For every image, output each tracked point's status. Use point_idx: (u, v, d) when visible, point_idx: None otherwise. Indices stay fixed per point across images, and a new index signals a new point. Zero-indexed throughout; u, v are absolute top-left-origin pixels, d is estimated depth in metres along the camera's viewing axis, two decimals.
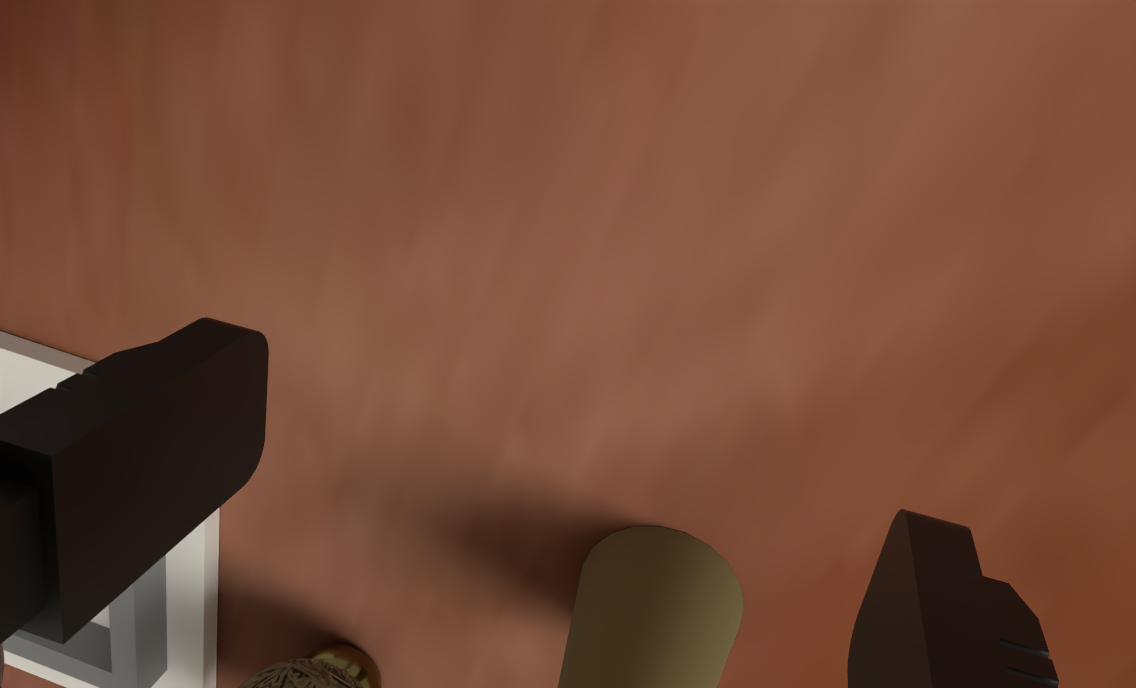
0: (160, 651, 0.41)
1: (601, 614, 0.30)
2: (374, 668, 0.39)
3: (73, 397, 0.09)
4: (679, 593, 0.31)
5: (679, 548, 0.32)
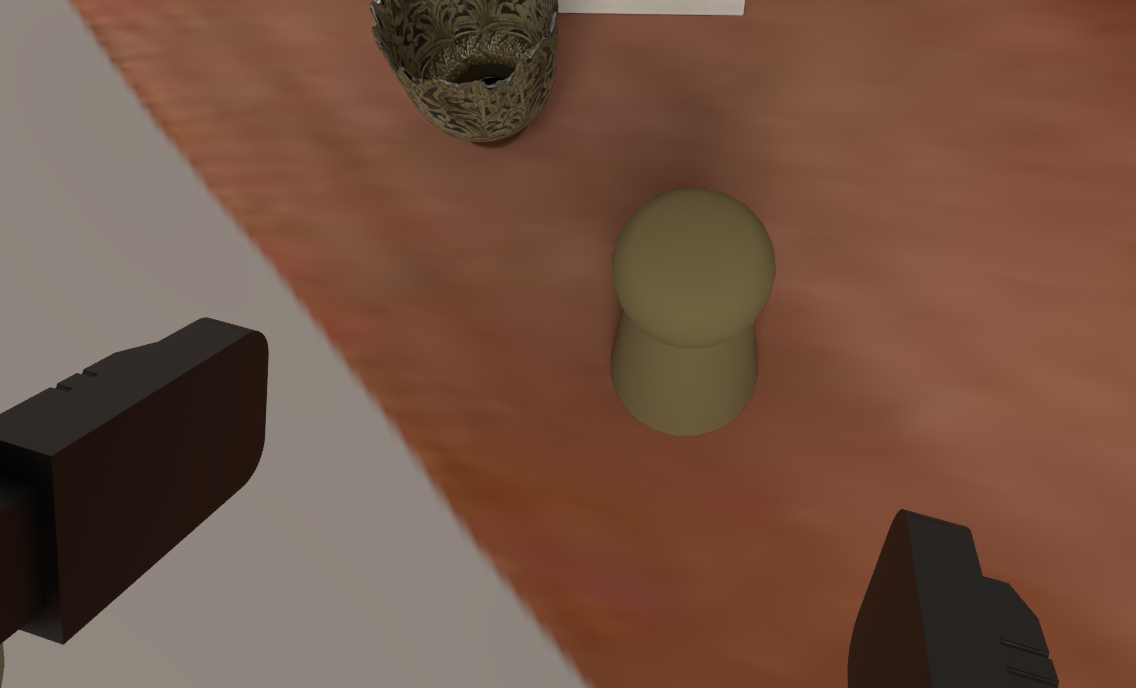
0: None
1: None
2: (514, 140, 0.43)
3: (71, 397, 0.09)
4: (753, 359, 0.36)
5: (756, 366, 0.38)
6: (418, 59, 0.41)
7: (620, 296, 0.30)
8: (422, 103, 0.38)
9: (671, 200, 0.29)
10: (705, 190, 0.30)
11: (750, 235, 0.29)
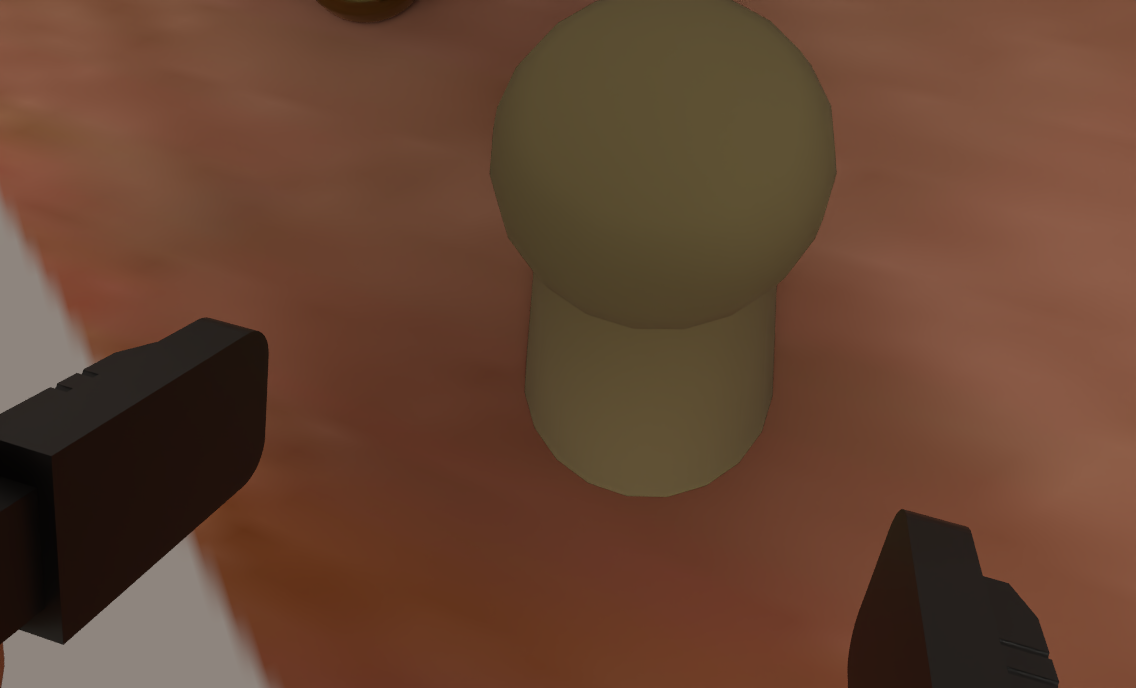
0: None
1: None
2: (398, 10, 0.27)
3: (71, 396, 0.09)
4: (768, 367, 0.20)
5: (771, 381, 0.22)
6: None
7: (501, 209, 0.14)
8: None
9: (618, 6, 0.14)
10: None
11: (789, 79, 0.13)
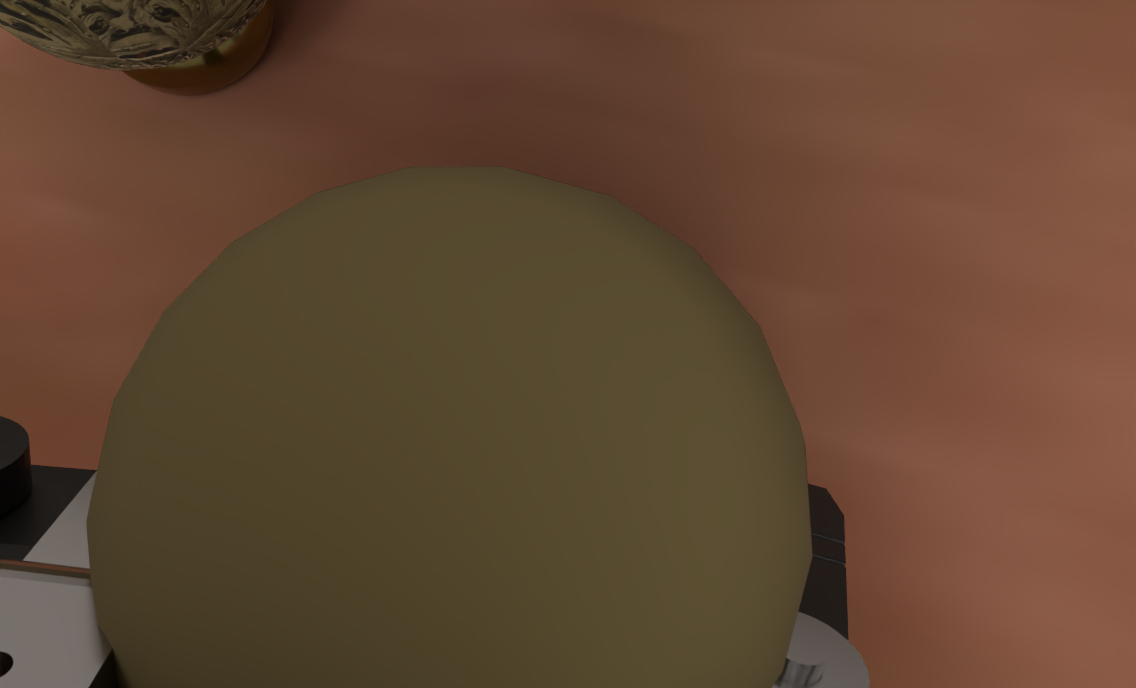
0: None
1: None
2: (229, 79, 0.20)
3: None
4: None
5: None
6: None
7: None
8: None
9: (349, 213, 0.06)
10: (513, 175, 0.07)
11: (703, 400, 0.06)
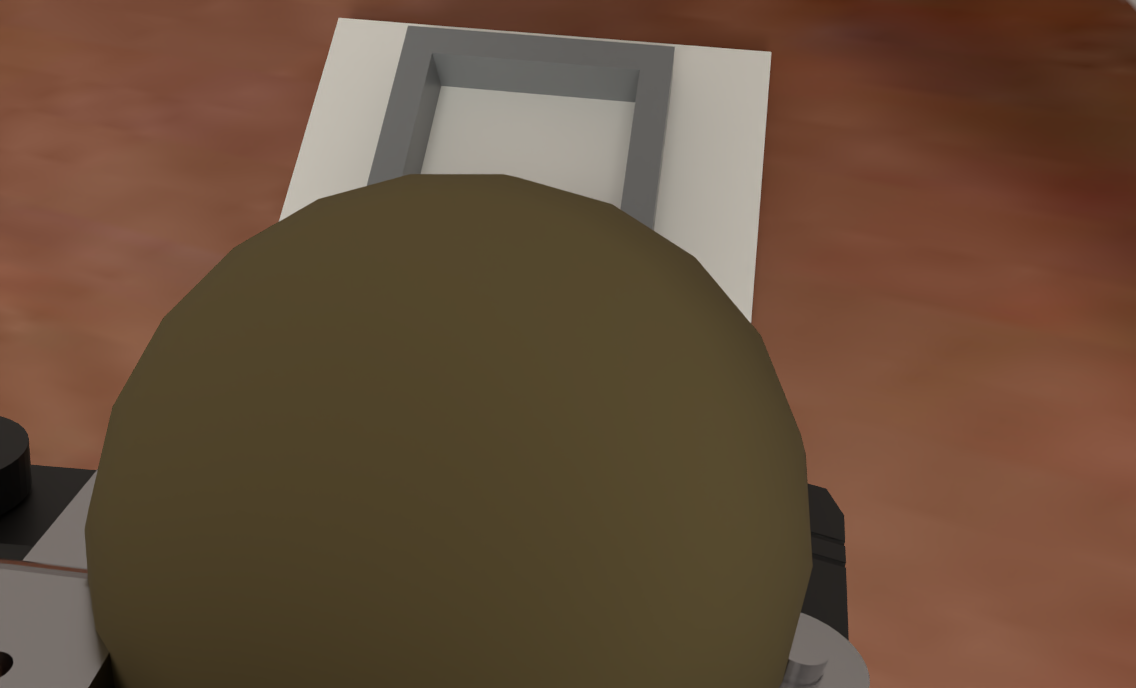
0: None
1: None
2: None
3: None
4: None
5: None
6: None
7: None
8: None
9: (350, 221, 0.06)
10: (515, 183, 0.07)
11: (703, 410, 0.06)
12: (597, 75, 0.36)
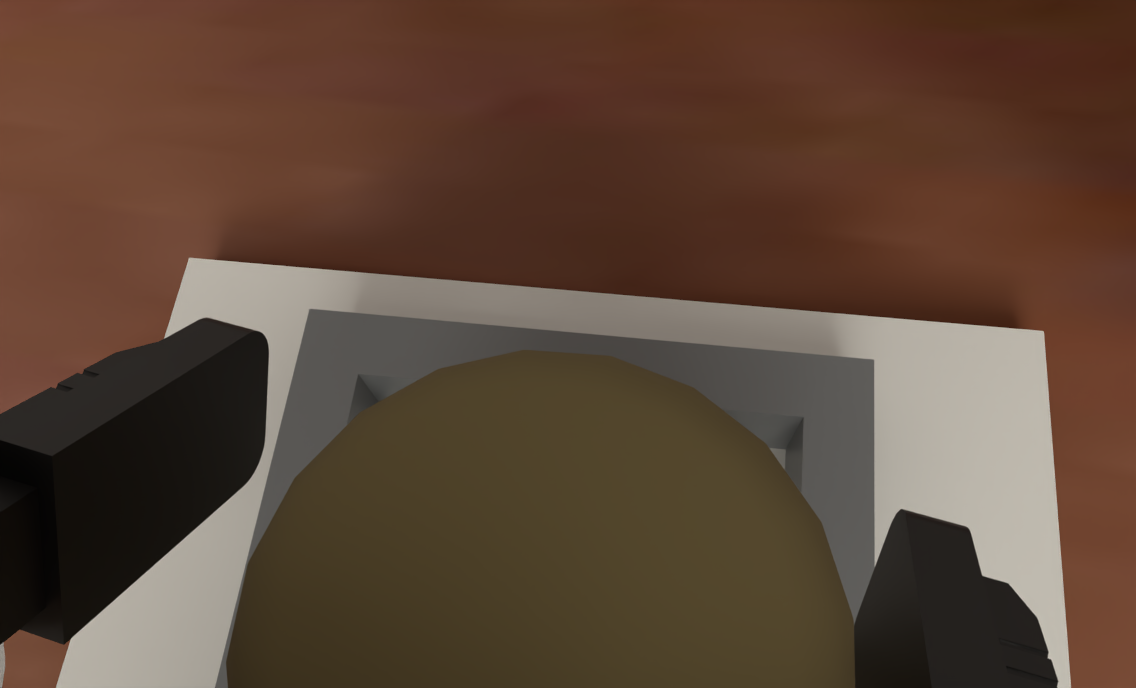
0: None
1: None
2: None
3: (72, 396, 0.09)
4: None
5: None
6: None
7: None
8: None
9: (470, 407, 0.07)
10: (612, 376, 0.08)
11: (773, 609, 0.07)
12: None
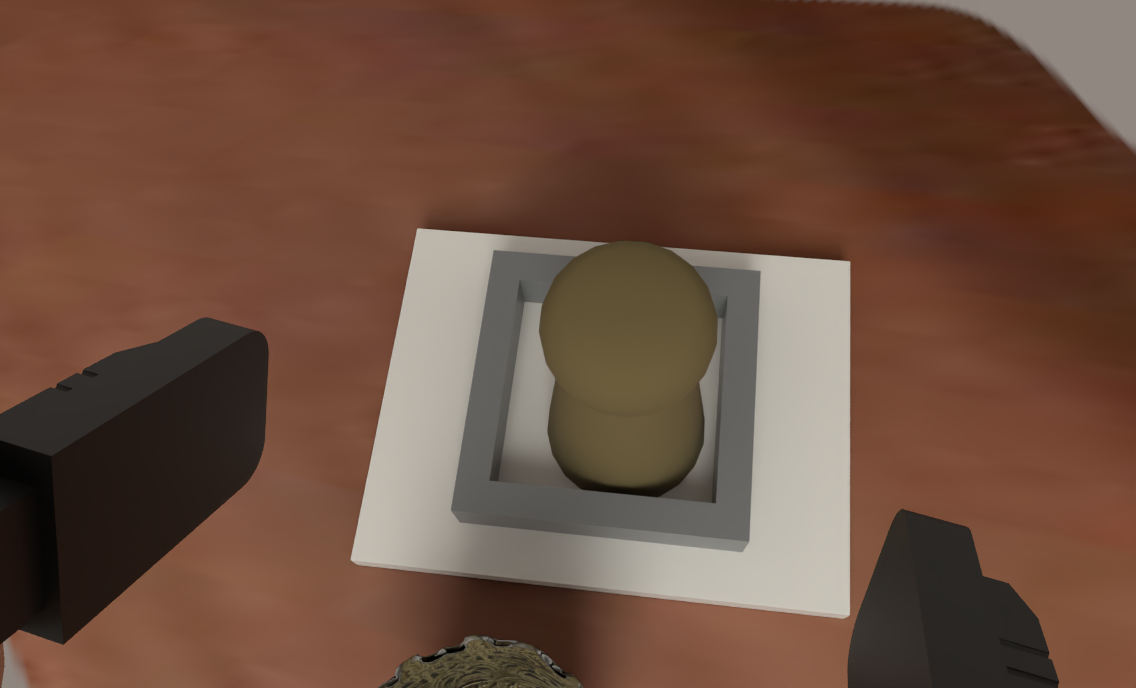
0: (500, 524, 0.34)
1: None
2: None
3: (72, 397, 0.09)
4: (696, 428, 0.33)
5: (702, 435, 0.35)
6: None
7: (544, 352, 0.27)
8: None
9: (609, 252, 0.27)
10: (648, 245, 0.27)
11: (691, 299, 0.26)
12: None
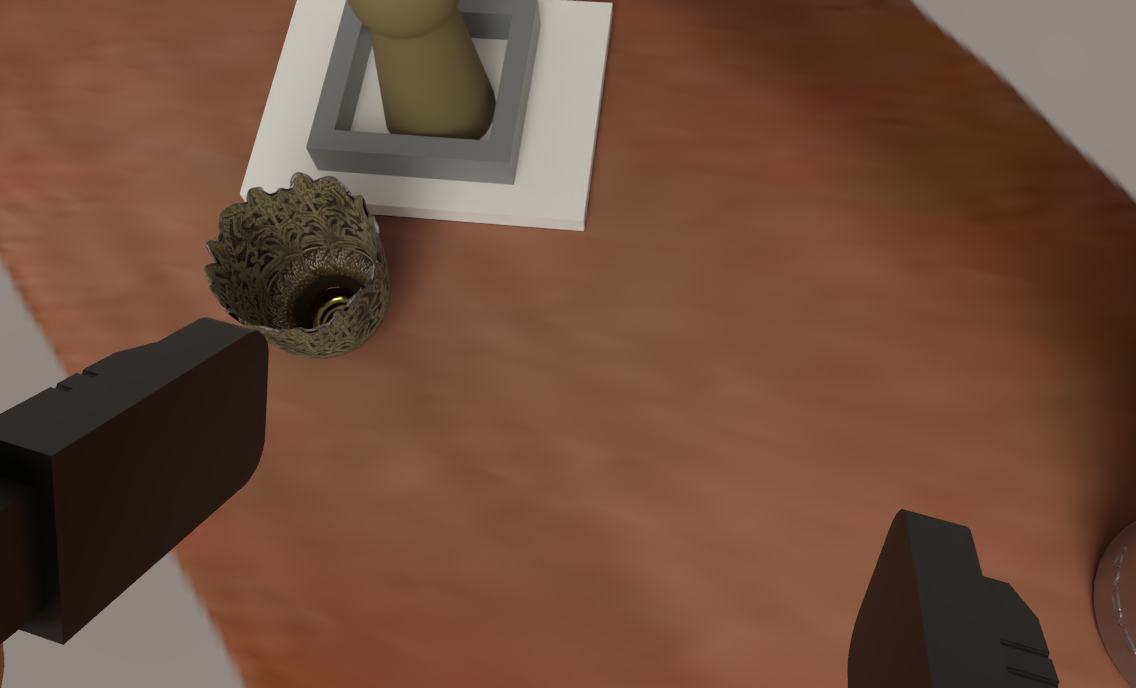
0: (344, 167, 0.49)
1: None
2: (357, 347, 0.46)
3: (72, 396, 0.09)
4: (477, 91, 0.47)
5: (490, 108, 0.49)
6: (264, 275, 0.44)
7: None
8: None
9: None
10: None
11: None
12: (483, 20, 0.50)
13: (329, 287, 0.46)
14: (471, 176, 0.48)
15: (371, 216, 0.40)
